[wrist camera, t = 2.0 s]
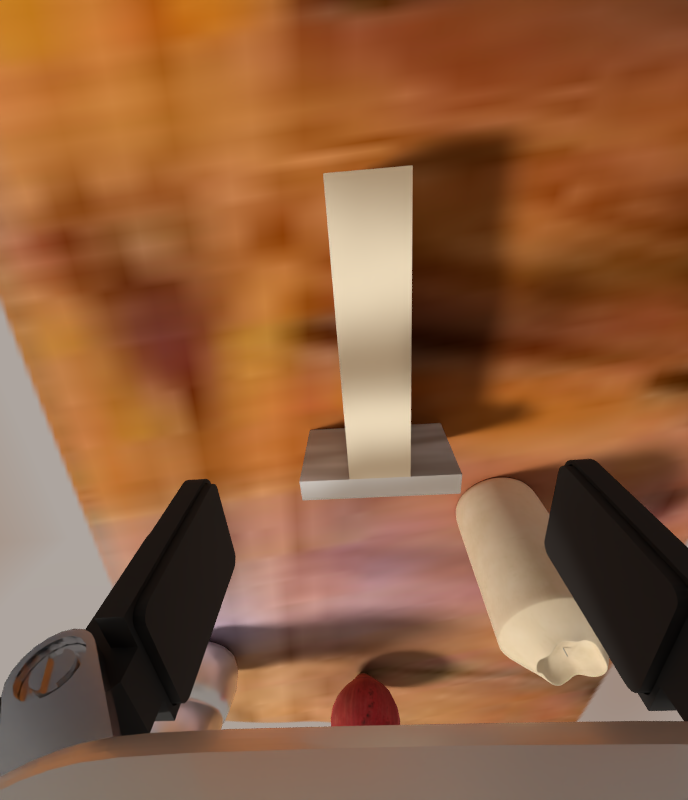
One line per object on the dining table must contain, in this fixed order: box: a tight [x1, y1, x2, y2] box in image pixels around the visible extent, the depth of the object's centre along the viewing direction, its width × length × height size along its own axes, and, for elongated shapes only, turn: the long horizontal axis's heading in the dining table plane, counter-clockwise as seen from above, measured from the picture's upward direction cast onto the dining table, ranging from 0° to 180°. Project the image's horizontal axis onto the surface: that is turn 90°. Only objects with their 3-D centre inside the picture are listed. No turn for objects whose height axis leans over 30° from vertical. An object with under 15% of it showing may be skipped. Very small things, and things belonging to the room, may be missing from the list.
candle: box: [456, 478, 609, 686], centre depth 21 cm, size 6×6×10 cm
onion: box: [331, 673, 400, 727], centre depth 31 cm, size 6×6×8 cm
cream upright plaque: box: [300, 165, 462, 500], centre depth 18 cm, size 14×8×5 cm, turn 4°
